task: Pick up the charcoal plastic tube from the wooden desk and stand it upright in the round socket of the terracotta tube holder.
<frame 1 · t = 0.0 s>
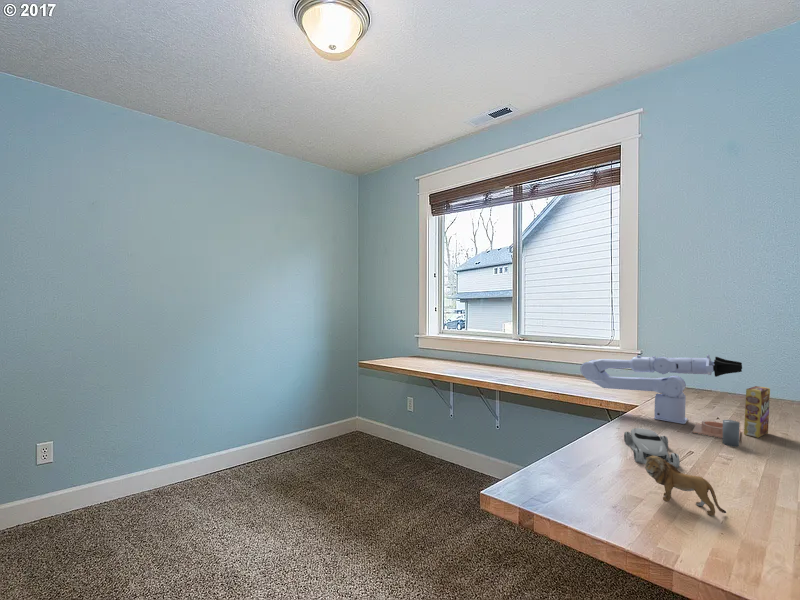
hand: (741, 367, 139), 22 cm above the table, tool horizontal, fingers open, 7 cm apart
tube holder: (716, 432, 138), on the table
lion figurine: (680, 504, 90), on the table
candy box: (756, 434, 137), on the table
tube: (730, 444, 127), on the table
car model: (648, 452, 121), on the table
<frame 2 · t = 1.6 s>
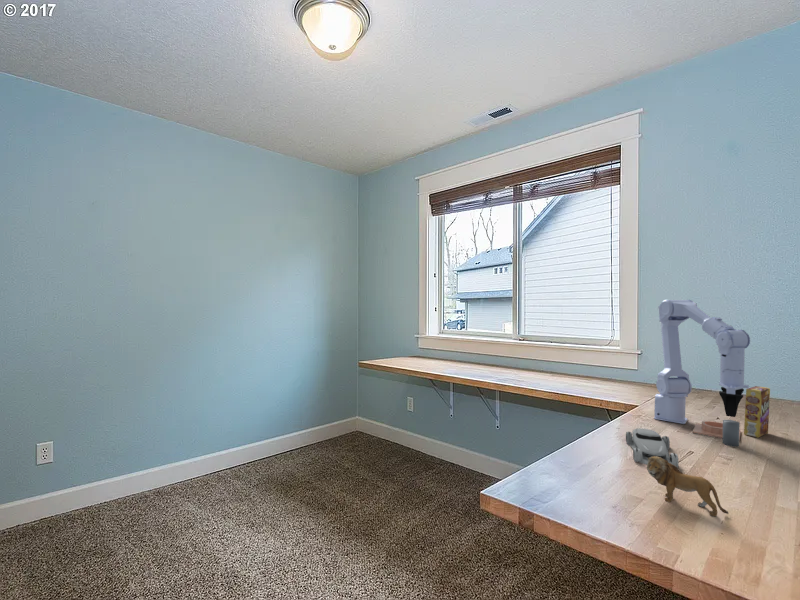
hand: (731, 413, 127), 9 cm above the table, tool pointing down, fingers open, 7 cm apart
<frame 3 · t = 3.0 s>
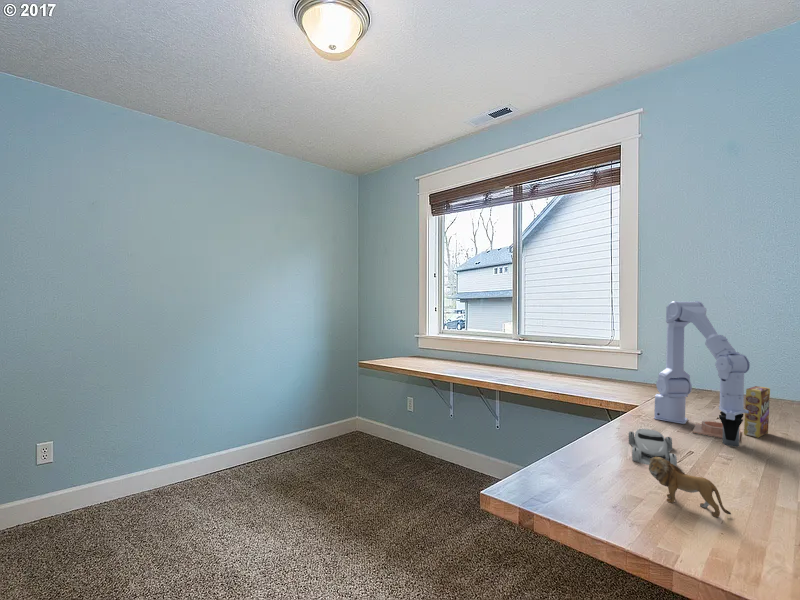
hand: (730, 438, 127), 2 cm above the table, tool pointing down, fingers closed on tube, 4 cm apart
tube: (730, 444, 127), on the table, touching gripper
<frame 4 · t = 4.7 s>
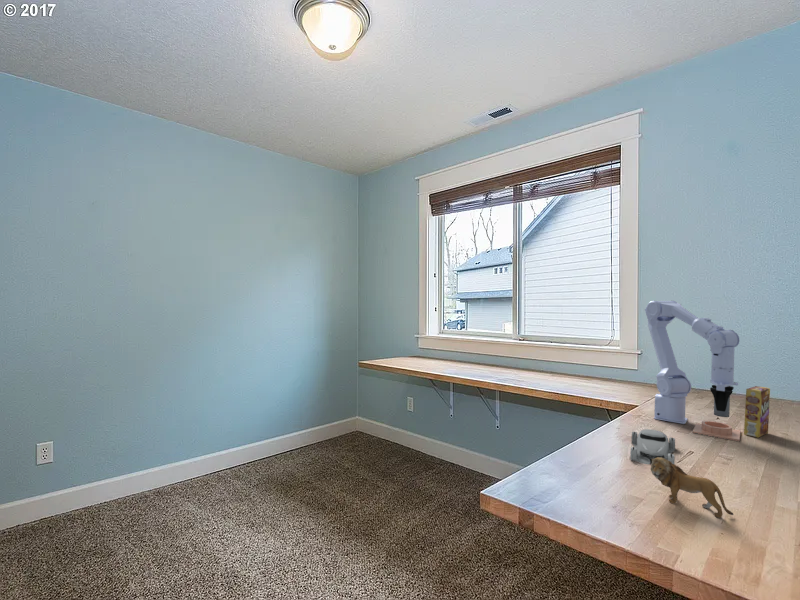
hand: (721, 409, 134), 9 cm above the table, tool pointing down, fingers closed on tube, 4 cm apart
tube: (721, 415, 134), point 7 cm above the table, touching gripper
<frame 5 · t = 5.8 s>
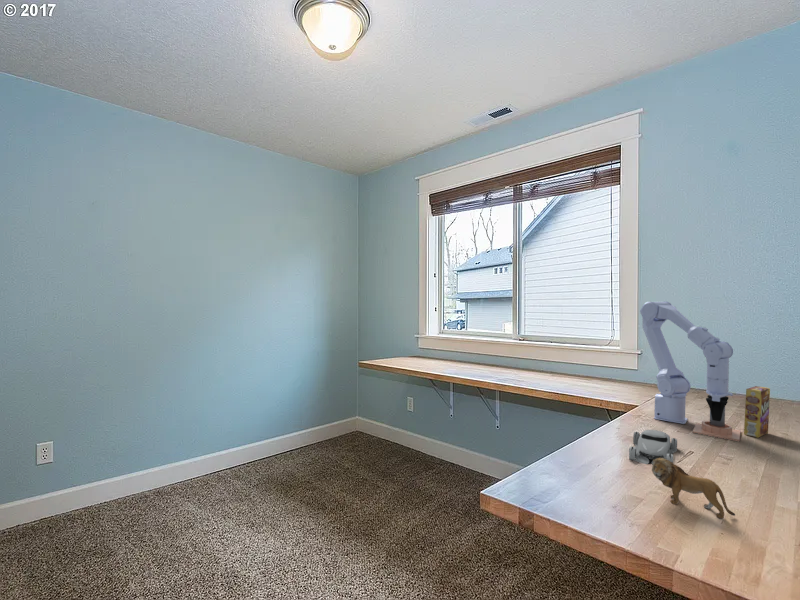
hand: (717, 419, 138), 4 cm above the table, tool pointing down, fingers closed on tube, 4 cm apart
tube: (717, 424, 138), point 3 cm above the table, touching gripper
when the fingers open (3 cm above the table, at t = 6.4 s): tube stays where it is, resting on tube holder.
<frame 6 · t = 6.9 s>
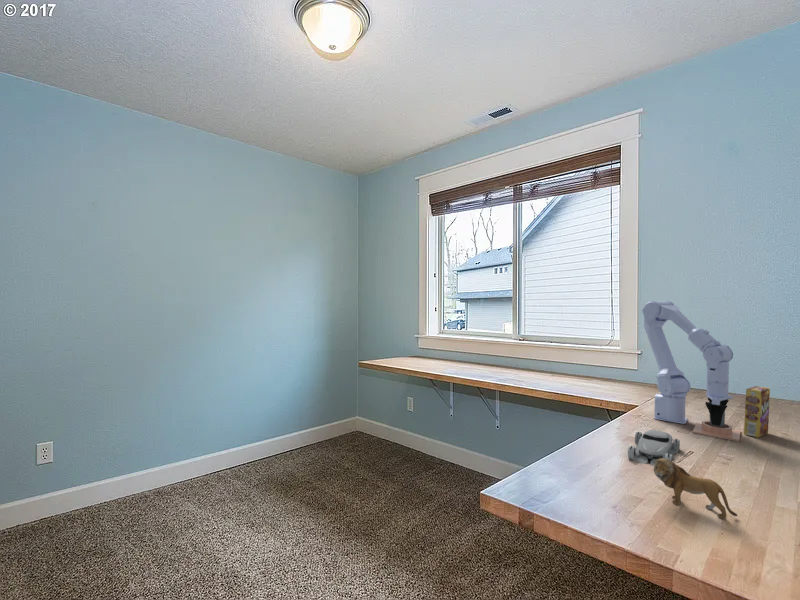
hand: (716, 422, 138), 3 cm above the table, tool pointing down, fingers open, 7 cm apart
tube: (717, 430, 138), point 1 cm above the table, touching tube holder
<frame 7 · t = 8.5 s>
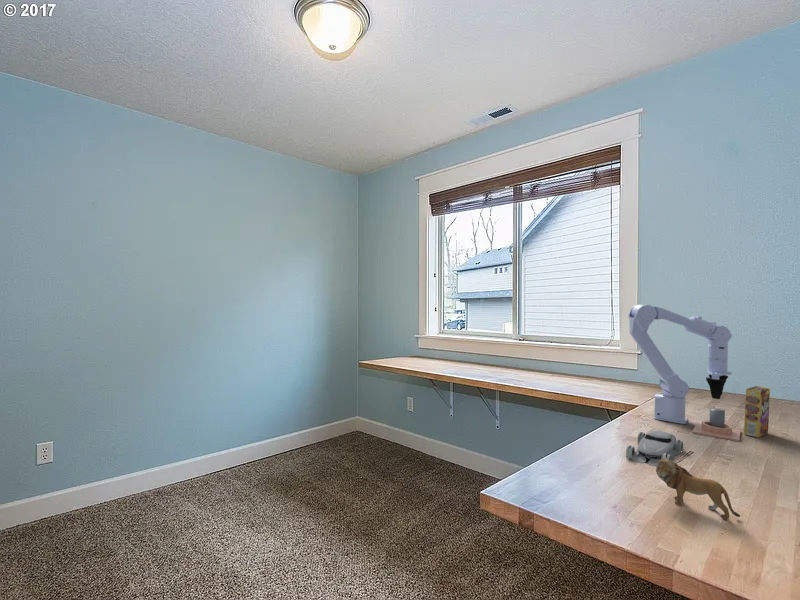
hand: (716, 396, 148), 9 cm above the table, tool pointing down, fingers open, 7 cm apart
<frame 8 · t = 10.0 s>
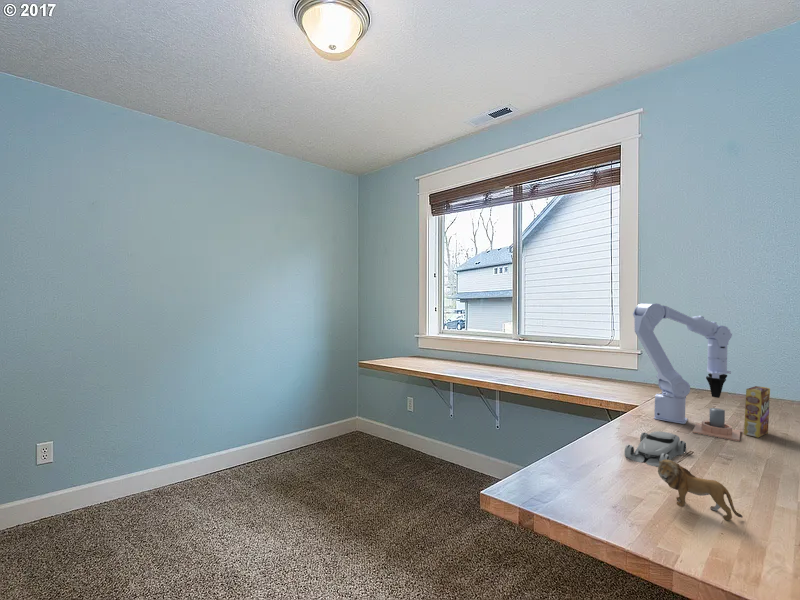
hand: (716, 395, 151), 9 cm above the table, tool pointing down, fingers open, 7 cm apart
at the end: tube 0.1 cm off-centre on the tube holder, point 0.6 cm above the tube holder's base; tube tilted 1°; the gripper is holding nothing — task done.
